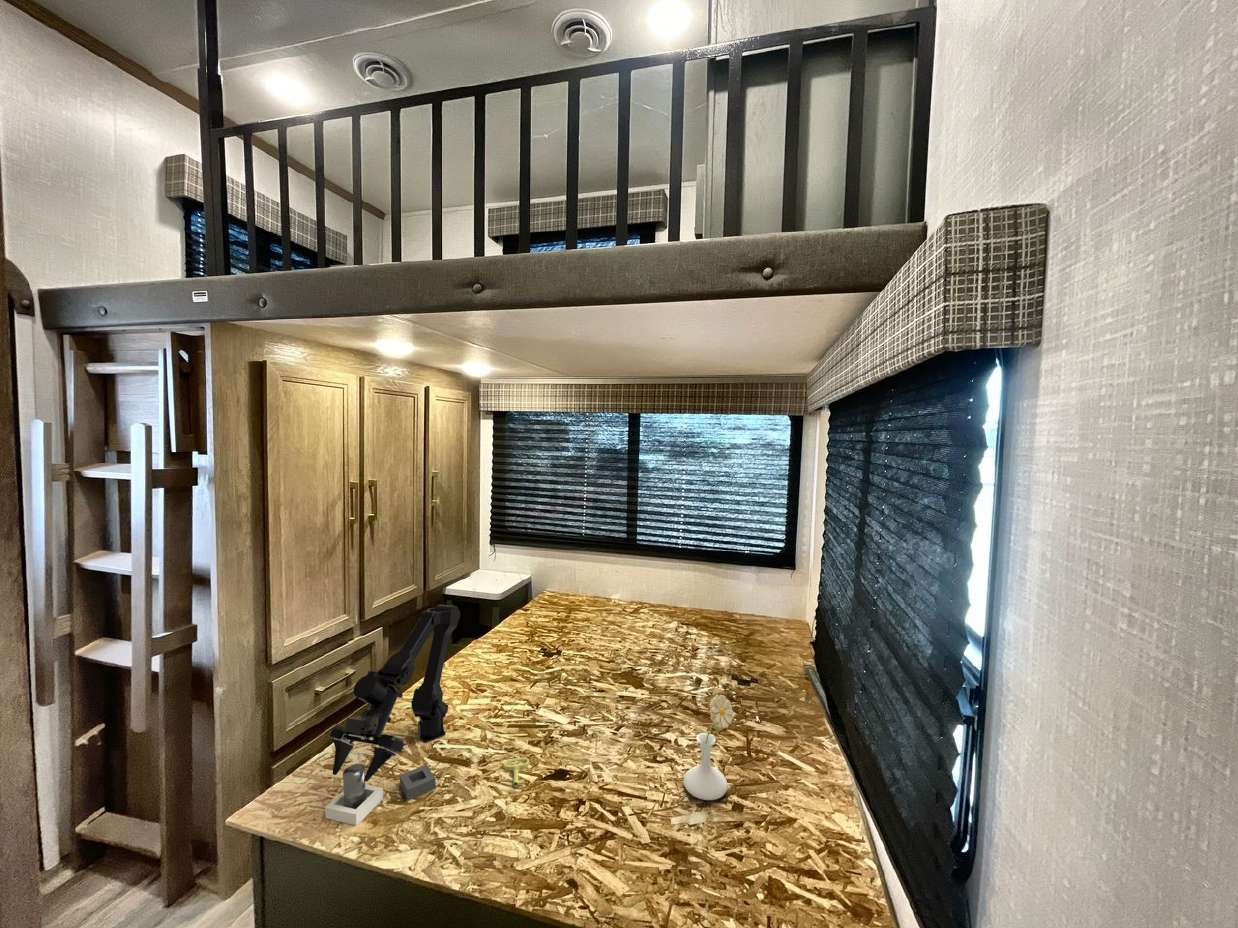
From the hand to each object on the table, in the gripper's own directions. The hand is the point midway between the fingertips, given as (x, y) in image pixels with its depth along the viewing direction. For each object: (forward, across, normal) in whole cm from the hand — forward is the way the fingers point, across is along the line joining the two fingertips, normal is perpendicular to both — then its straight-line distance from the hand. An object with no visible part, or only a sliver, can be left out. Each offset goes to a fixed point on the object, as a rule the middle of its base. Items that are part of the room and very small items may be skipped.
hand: (349, 777), depth 123 cm
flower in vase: (-15, +84, +28) cm, 90 cm away
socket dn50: (+5, 0, +7) cm, 9 cm away
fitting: (+5, 0, +7) cm, 8 cm away
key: (-10, +33, +23) cm, 42 cm away
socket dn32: (-2, +10, +15) cm, 18 cm away
